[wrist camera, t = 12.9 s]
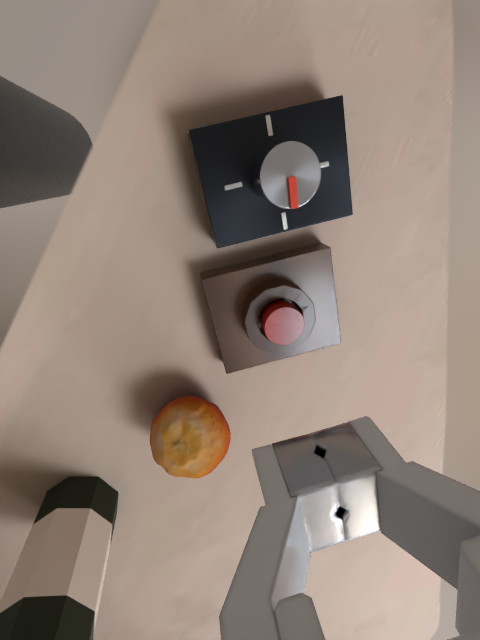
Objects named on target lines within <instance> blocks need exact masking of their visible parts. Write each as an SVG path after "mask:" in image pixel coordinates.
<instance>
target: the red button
mask: <svg viewBox="0 0 480 640" xmlns="http://www.w3.org/2000/svg"><path fill="white" fill-rule="evenodd" d="M304 325H305V323H304V318H303V316H302V314H301V313H300V312H299V310H298V309H297V308H296V307H295V306H294V305H293V304H292V303H290V302H287V301H276V302H273V303H271V304H270V305H268V306H267V307H266V308H265V309H264V311H263V313H262V315H261V327H262V329H263V331H264V333H265V335H266V336H267V338H268V339H269V340H270V341H271V342H273V343H275V344H278V345H287V344H290V343H293V342H294V341H296V340H297V339H298V338H299V337H300V336H301V334H302V332H303V330H304Z"/></svg>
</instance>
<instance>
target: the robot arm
mask: <svg viewBox="0 0 480 640" xmlns="http://www.w3.org/2000/svg"><path fill="white" fill-rule="evenodd" d="M252 455H253V459H254V462H255V466H256V470H257V474H258V478H259V481H260V485H261V489H262V493H263V497H264V500H265V504H266V505H265V506H262V507H260V509H259V511H258V514H257V517H256V519H255V522H254V525H253V527H252V530H251V533H250V535H249V538H248V541H247V543H246V546H245V549H244V551H243V554H242V557H241V559H240V562H239V565H238V567H237V570H236V573H235V575H234V578H233V581H232V583H231V586H230V589H229V591H228V594H227V597H226V599H225V602H224V605H223V607H222V610H221V613H220V615H219V620H220V631H221V640H325V637H324V634H323V631H322V628H321V625H320V622H319V619H318V616H317V613H316V610H315V607H314V604H313V601H312V598H311V597H309V596H307V595H305V594H304V593H305V587H306V581H307V575H308V568H309V562H310V556H311V555H310V553H311V552H314V551H317V550H320V549H323V548H326V547H328V546H331V545H334V544H337V543H340V542H343V541H346V540H350V539H353V538H357V537H360V536H364V535H367V534H371V533H375V532H378V531H381V533H382V534H384V535H385V536H386V537H388V538H389V539H390V540H392V541H393V542H394V543H396V544H397V545H398V546H400V547H401V548H402V549H404V550H405V551H406V552H408V553H409V554H410V555H412V556H413V557H414V558H416V559H417V560H418V561H420V562H421V563H422V564H424V565H425V566H427V567H428V568H429V569H431V570H432V571H433V572H435V573H436V574H437V575H439V576H440V577H441V578H443V579H444V580H445V581H447V582H448V583H449V584H451V585H452V586H453V587H455V588H456V589H457V590H458V592H457V610H456V626H455V627H456V629H457V631H458V632H459V634H460V635H459V636H457V637H454V638H451V639H447V640H480V491H478V490H476V489H474V488H471V487H469V486H467V485H465V484H462V483H460V482H458V481H456V480H453V479H451V478H449V477H447V476H444V475H442V474H440V473H438V472H435V471H433V470H431V469H429V468H426V467H424V466H422V465H420V464H417V463H415V462H413V461H412V462H408V463H406V462H405V461H404V460H403V458H402V457H401V456H400V455H399V453H398V452H397V451H396V450H395V448H394V447H393V446H392V445H391V443H390V442H389V441H388V440H387V438H386V437H385V436H384V435H383V433H382V432H381V431H380V430H379V428H378V427H377V426H376V425H375V423H374V422H373V421H372V420H371V418H369V417H367V416H365V417H362V418H359V419H355V420H352V421H349V422H347V423H343V424H340V425H336V426H333V427H330V428H326V429H323V430H320V431H316V432H313V433H310V434H307V435H303V436H299V437H295V438H291V439H288V440H284V441H280V442H276V443H272V445H267V446H263V447H259V448H255V449H252Z"/></svg>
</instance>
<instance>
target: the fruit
mask: <svg viewBox="0 0 480 640" xmlns="http://www.w3.org/2000/svg"><path fill="white" fill-rule="evenodd" d="M229 444H230V429H229V425H228V423H227V421H226V419H225V417H224V415H223V414H222V412H221V410H220V409H219V408H218V406H217V405H215V404H213V403H211V402H209V401H207V400H205V399H202V398H200V397H197V396H193V395H185V396H181V397H179V398H177V399H175V400H173V401H171V402H170V403H168V404H167V405H166V406H165V407H164V408H163V409H162V410H161V411H160V412H159V413H158V415H157V416H156V417H155V418H154V419H153V421H152V425H151V432H150V445H151V449H152V454H153V458H154V460H155V462H156V463H157V464H158V465H160V466H162V467H163V468H164V469H165V470H166V472H167V473H168V474H170V475H173V476H175V477H179V476H180V477H189V478H200V477H202V476H204V475H206V474H209V473H210V472H212V471H213V470H214V469H215V468H216V467H217V465H218V464H219V463H220V462H221V461H222V460H223V458H224V457H225V455H226V453H227V451H228V448H229Z"/></svg>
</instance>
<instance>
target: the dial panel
mask: <svg viewBox="0 0 480 640" xmlns="http://www.w3.org/2000/svg"><path fill="white" fill-rule="evenodd" d="M188 137H189V141H190V145H191V149H192V153H193V157H194V161H195V165H196V170H197V174H198V178H199V182H200V186H201V190H202V194H203V198H204V202H205V206H206V211H207V215H208V219H209V223H210V227H211V231H212V235H213V239H214V243H215V245H216V247H217V248H221V247H225V246H229V245H233V244H237V243H241V242H245V241H249V240H253V239H257V238H261V237H265V236H269V235H273V234H277V233H281V232H285V231H289V230H293V229H297V228H301V227H305V226H309V225H313V224H317V223H321V222H325V221H329V220H333V219H337V218H341V217H345V216H350V215H352V214H353V213H352V201H351V190H350V178H349V166H348V154H347V143H346V131H345V119H344V107H343V96H342V95H341V96H337V97H332V98H328V99H324V100H319V101H315V102H310V103H306V104H302V105H297V106H293V107H289V108H284V109H280V110H276V111H271V112H267V113H262V114H258V115H254V116H249V117H245V118H241V119H236V120H232V121H227V122H223V123H219V124H214V125H210V126H206V127H201V128H197V129H193V130H189V133H188ZM287 141H297V142H301V143H304V144H305V145H307V146H308V147H310V148H311V149H312V150H313V151H314V153H315V154H316V156H317V158H318V160H319V162H320V167H321V180H320V184H319V187H318V189H317V191H316V193H315V194H314V196H313V197H312V198H311V199H310V200H309V201H308V202H307V203H306V204H304V205H302V206H300V207H299V208H294V209H284V208H280V207H277V206H274V205H271V204H269V203H266V202H264V201H262V200H261V199H260V198H259V197H258V196H257V195H256V194H255V192H254V191H253V188H252V186H251V181H250V171H251V166H252V164H253V161H254V159H255V158H256V156H257V155H258V154H259V153H260V152H261V151H262V150H264V149H265V148H267V147H270V146H273V145H276V144H280V143H283V142H287Z"/></svg>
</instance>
